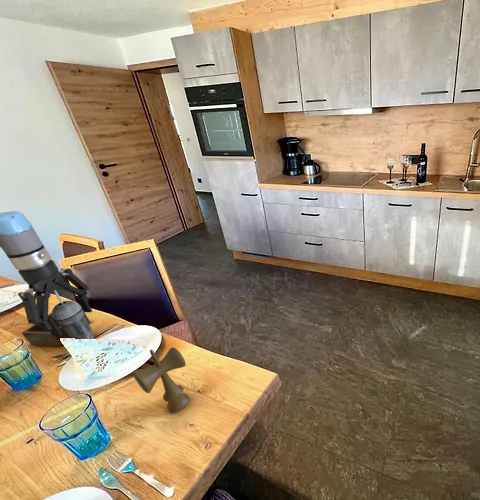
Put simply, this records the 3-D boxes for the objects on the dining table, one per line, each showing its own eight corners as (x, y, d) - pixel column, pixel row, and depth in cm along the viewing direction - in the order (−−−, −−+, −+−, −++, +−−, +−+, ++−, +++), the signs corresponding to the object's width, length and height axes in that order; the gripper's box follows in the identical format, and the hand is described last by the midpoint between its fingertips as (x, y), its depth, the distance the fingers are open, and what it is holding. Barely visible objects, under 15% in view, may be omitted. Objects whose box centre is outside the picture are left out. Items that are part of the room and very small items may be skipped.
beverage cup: (70, 351, 93) (35, 302, 84) (72, 338, 98) (39, 290, 89) (98, 340, 97) (67, 292, 87) (99, 328, 102) (70, 282, 93)
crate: (31, 345, 96) (21, 332, 94) (62, 322, 106) (54, 310, 103) (61, 346, 95) (52, 333, 93) (90, 322, 105) (83, 310, 102)
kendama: (154, 413, 73) (121, 358, 64) (191, 384, 80) (166, 331, 71) (165, 426, 70) (132, 370, 61) (202, 396, 77) (178, 341, 67)
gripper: (2, 287, 73) (49, 350, 84) (81, 246, 93) (112, 300, 104) (-24, 287, 74) (26, 349, 84) (60, 246, 94) (92, 300, 104)
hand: (73, 322), depth 94 cm, fingers open, 10 cm apart
